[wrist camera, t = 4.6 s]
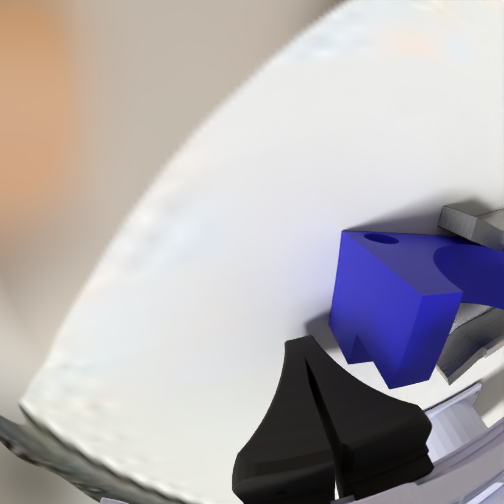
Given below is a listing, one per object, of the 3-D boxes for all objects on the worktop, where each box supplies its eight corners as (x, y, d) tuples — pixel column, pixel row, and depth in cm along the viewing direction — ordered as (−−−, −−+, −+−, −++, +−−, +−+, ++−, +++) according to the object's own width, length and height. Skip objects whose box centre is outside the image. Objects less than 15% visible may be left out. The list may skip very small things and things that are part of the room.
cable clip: (328, 324, 13) (374, 420, 7) (341, 230, 11) (422, 295, 6) (488, 305, 13) (544, 352, 8) (506, 239, 12) (573, 275, 6)
